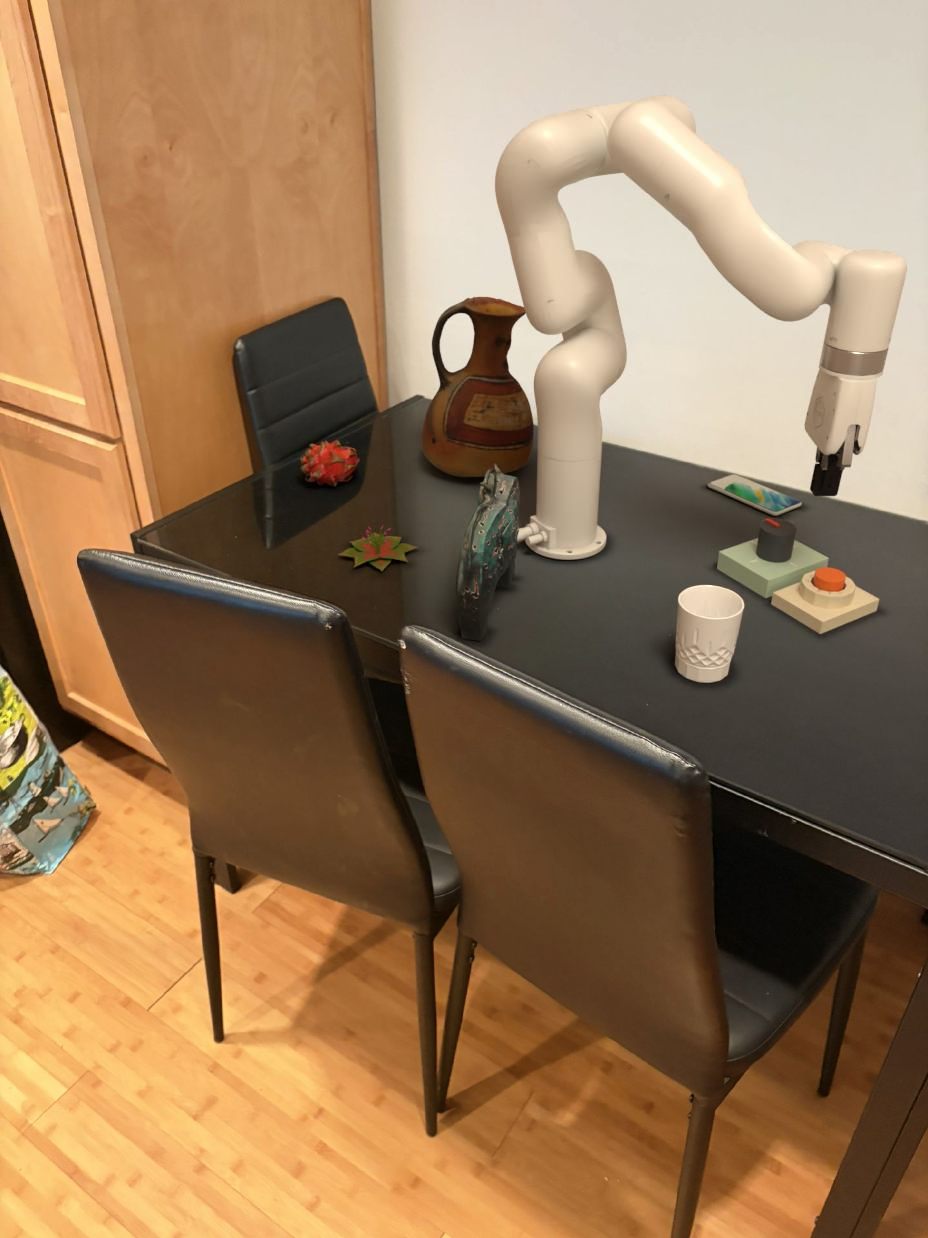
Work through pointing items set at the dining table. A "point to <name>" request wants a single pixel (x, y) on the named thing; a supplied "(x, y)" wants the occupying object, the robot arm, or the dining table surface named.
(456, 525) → the dining table surface
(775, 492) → the smartphone
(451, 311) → the ceramic pitcher
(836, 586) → the button
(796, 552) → the panel
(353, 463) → the dragon fruit
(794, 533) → the program dial
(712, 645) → the white cup
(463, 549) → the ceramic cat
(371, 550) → the lily flower
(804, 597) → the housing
